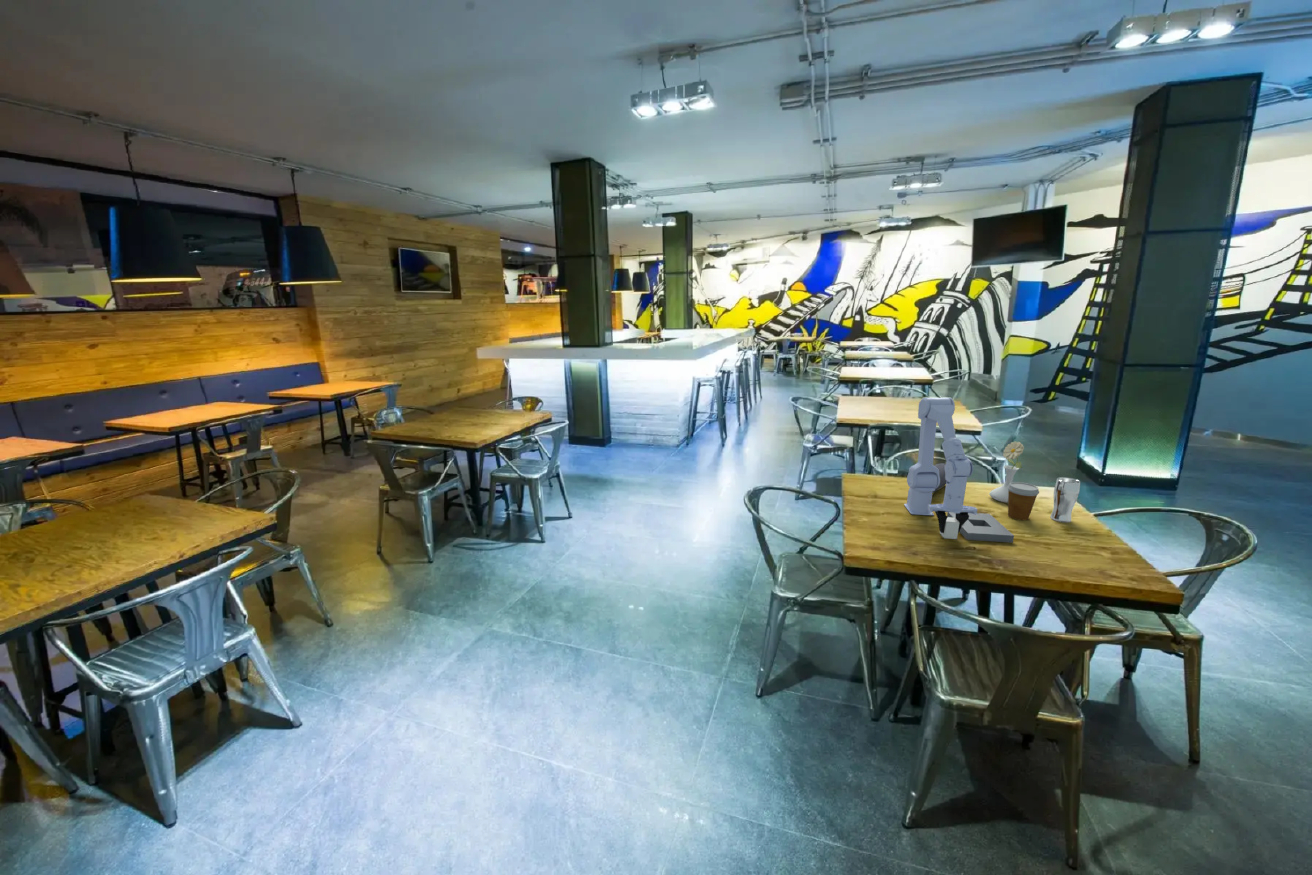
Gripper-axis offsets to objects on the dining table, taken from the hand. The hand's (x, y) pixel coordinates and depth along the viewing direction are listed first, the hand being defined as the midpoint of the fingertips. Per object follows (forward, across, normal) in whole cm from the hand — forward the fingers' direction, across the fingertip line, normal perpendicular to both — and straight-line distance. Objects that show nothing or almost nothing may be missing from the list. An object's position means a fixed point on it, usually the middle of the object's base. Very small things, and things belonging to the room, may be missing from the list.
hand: (948, 532), depth 174 cm
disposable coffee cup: (+2, +31, +21) cm, 37 cm away
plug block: (+1, 0, 0) cm, 1 cm away
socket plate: (+1, +12, +7) cm, 14 cm away
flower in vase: (+2, +34, +37) cm, 50 cm away
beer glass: (+2, +45, +21) cm, 50 cm away
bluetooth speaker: (+2, +9, +45) cm, 46 cm away
